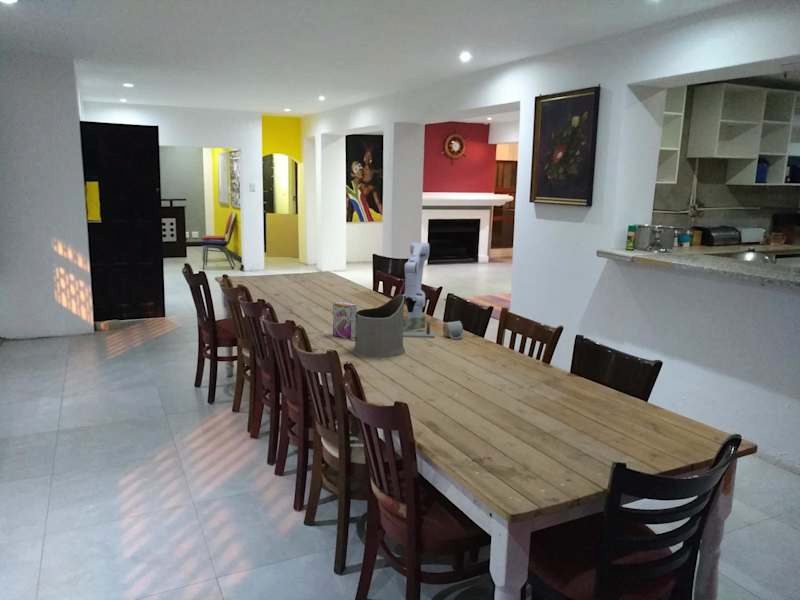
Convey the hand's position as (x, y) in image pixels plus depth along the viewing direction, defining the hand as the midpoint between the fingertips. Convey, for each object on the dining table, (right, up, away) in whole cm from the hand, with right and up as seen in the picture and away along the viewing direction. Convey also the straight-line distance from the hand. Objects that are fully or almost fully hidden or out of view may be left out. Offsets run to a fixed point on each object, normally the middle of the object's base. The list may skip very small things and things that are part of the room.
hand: (410, 312), depth 311 cm
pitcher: (-19, -17, -39) cm, 47 cm away
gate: (+1, -9, -3) cm, 9 cm away
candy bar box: (-32, -12, -14) cm, 37 cm away
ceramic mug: (+21, -12, -10) cm, 27 cm away
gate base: (+2, -11, -9) cm, 14 cm away
